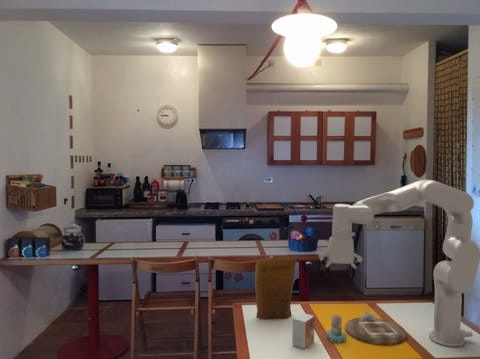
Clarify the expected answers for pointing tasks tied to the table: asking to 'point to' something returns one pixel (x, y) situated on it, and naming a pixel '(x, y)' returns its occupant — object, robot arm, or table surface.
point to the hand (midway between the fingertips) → (339, 277)
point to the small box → (303, 330)
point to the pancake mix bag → (274, 287)
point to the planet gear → (336, 330)
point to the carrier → (375, 330)
